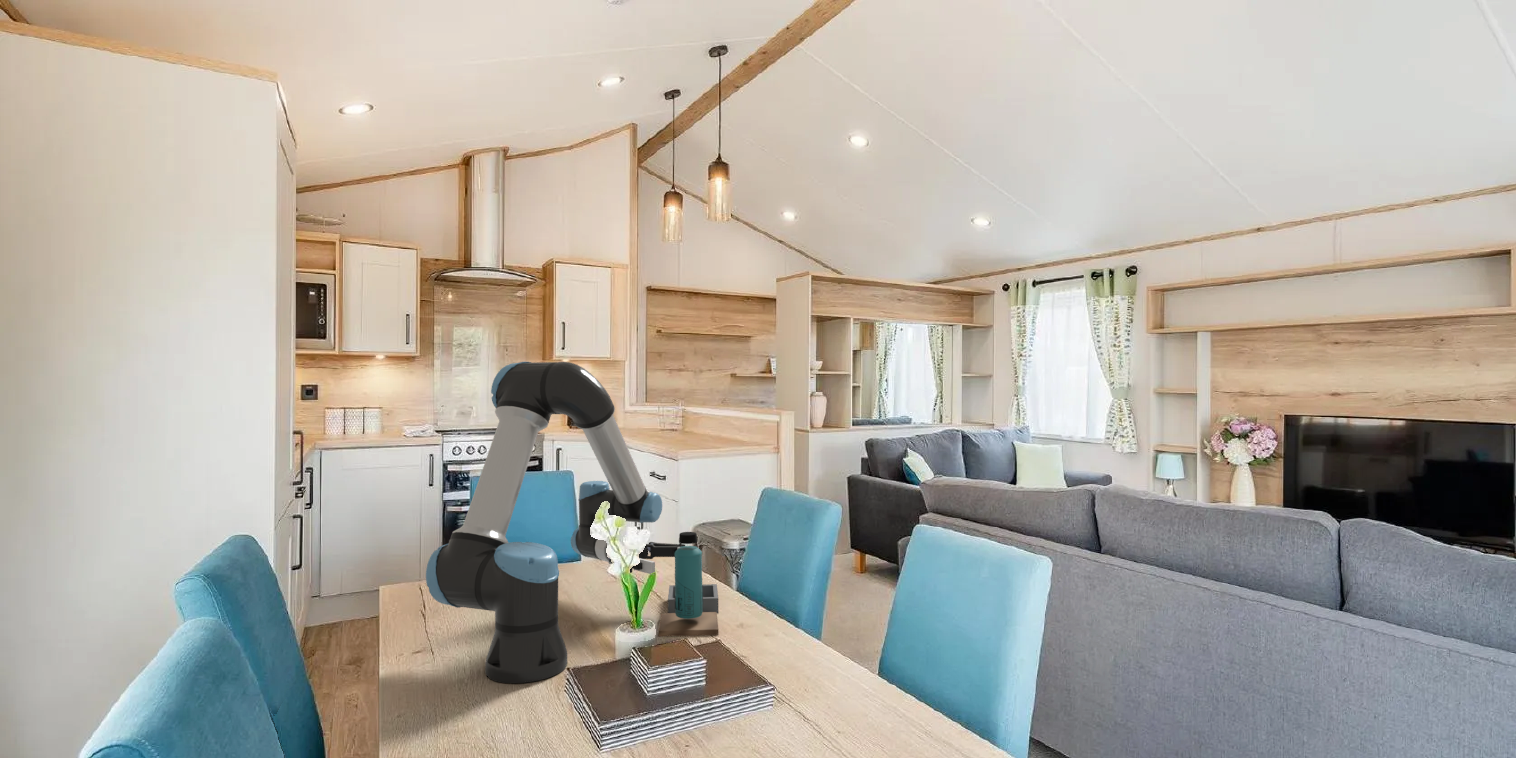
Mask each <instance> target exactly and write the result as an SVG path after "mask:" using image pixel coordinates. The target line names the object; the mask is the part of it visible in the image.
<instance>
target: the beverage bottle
mask: <svg viewBox="0 0 1516 758" xmlns="http://www.w3.org/2000/svg"><path fill="white" fill-rule="evenodd" d="M678 537H679V538H678V544H679V543H682V544H685V546H682V547H680V548H678V549H677V550H676V551H675V553H674V555H675V557H674V574H673V575H674V585H675V586H674V587H675V591H674V592H675V594H674V595H675V596H674V598H675V603H674V606H675V614H676V616H677V617H679V618H684V619H691V618H697V617H700V616H701V615H702V612H703V593H702V588H703V587H702V586H703V584H704V583H703V559H702V558H703V551H702V550H701V549H700V548H699V547H697V546H695V545H691V544H696V543H698V537H697V532H694V531H683V532H680V533H679V535H678Z"/></svg>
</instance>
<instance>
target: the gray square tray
mask: <svg viewBox="0 0 1516 758" xmlns="http://www.w3.org/2000/svg"><path fill="white" fill-rule="evenodd" d="M702 584H703V586H702V587H703V588H702V593H703V612H717V614H719V592H718V584H717V583H712V584H711V583H709V584H706V583H705V584H704V583H702ZM674 586H675V584H672V585H671V584H670V585H669V588H668V594H667V595H668V596H667V613H675V606H674V603H675V598H674V596H675V595H674V594H675V592H674V591H675V587H674Z"/></svg>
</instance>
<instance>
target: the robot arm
mask: <svg viewBox="0 0 1516 758" xmlns="http://www.w3.org/2000/svg"><path fill="white" fill-rule="evenodd" d="M490 389H491V390H490V393H491V395H492V396H491V401H492V404H493V406H494V407H495V411H494V414H495V415H496V417H497V419H498V423H497V427H496V430H495V433H494V435H493V438H492V442H491V444H490V447H489V450H488V452H487V455H486V458H485V461H484V465H483V467H482V470H481V473H480V476H479V479H478V482H477V484H476V487H475V490H474V493H473V496H472V499H471V502H470V504H469V507H468V511H467V514H466V516H465V519H464V521H463V524H462V526H461V527H459V528H457V529H455V530H453V531H452V533H451V536H450V539H449V540H448V543H446V544H443V545H441V546H439V547H437V549H436V550H434V551H433V552H432V554H431V555H430V557H429V558H428V562H427V563H426V564H427V565H426V569H425V582H426V587H428V592H429V594H430V596H431V597H432V598H433V599H434V600H435V601H437V602H438V603H440V604H442V605H446V606H451V607H455V608H456V609H457V608H459V609H460V608H467V609H475V610H481V611H482V610H483V611H488V612H489V611H491V612H494V622H495V623H494V633H493V637H492V640H491V643H490V646H489V649H488V652H487V655H486V658H485V672H484V674H485V676H486V675H487V676H488V677H489V678H488V677H487V676H486V677H487V678H488V679H489V680H492V681H495V682H498V683H505V684H525V683H533V682H537V681H542V680H545V679H549V678H551V677H553V676H556V675H558V674H560V673H561V672H563V671H565V669H566V667H567V666H568V651H567V647H566V644H565V641H564V638H563V635H562V632H561V630H560V626H559V576H560V570H559V565H558V563H559V561H558V556H557V553H556V551H555V550H554V549H552V548H551V547H550V546H548V545H545V544H542V543H537V542H532V541H531V542H530V541H525V542H522V541H513V542H512V541H511V542H509V541H508V538H507V537H506V535H507V532H508V530H509V526H510V522H511V519H512V516H513V512H514V510H515V506H516V503H517V500H518V497H519V494H520V491H521V488H522V485H523V482H524V478H525V475H526V472H527V469H528V466H529V463H530V459H531V456H532V453H533V451H534V450H533V449H534V446H535V443H536V441H537V437H538V434H539V432H540V431H543V430H545V429H546V428H548V426H549V423H550V420H551V417H552V416H553V415H565V416H567V417H569V418H570V419H572V422H573V423H574V426H575V427H577V428H578V429H580V430H582V432H583V433H584V435H585V438H586V440H587V441H588V443H589V445H590V447H591V449H592V451H593V454H594V455H595V457H596V460H597V462H598V463H599V465H600V468H601V470H602V472H603V474H604V476H605V478H606V480H607V481H603V480H589V481H588V480H587V481H584V482H582V483H581V484H580V485H579V490H578V491H579V493H578V494H579V495H578V515H579V516H578V527H577V528H576V529H575V530H573V532H572V535H571V538H570V546H571V548H572V551H574V553H576V554H578V555H581V556H583V557H585V558H586V557H587V558H590V559H595V560H599V561H603V562H607V563H608V564H609V565H612V564H613V563H612V562H611V559H610V558H608V557H607V553H606V548H607V543H606V541H604V540H598V539H595V538H593V537H591V535H590V527H591V525H592V523H593V521H594V519H595V514H596V512H597V510H598V509H599V507H600V505H601V503H602V502H604V501H608V502H609V503H610V508H609V509H608V513H609V515H616V516H620V517H622V518H625V519H626V521H625V522H629V523H630V522H631V523H639V524H643V523H655V522H657V521H658V520H659V518H660V517H661V514H662V512H663V500H662V497H661V495H660V494H658V493H657V492H653V491H649V492H648V489H647V488H646V486H645V484H644V482H643V479H642V477H641V474H640V472H639V470H638V467H637V466H636V463H635V461H634V458H633V457H632V455H631V452H630V450H629V448H628V445H627V443H626V441H625V439H624V436H623V434H622V431H621V430H620V427H619V425H618V423H617V420H616V418H615V417H614V416H615V415H614V414H615V412H616V407H615V405H614V403H613V400H612V399H611V396H610V395H609V393H608V391H607V390H606V388H605V387H604V386H603V385H602V384H601V382H600V380H598V379H597V378H596V377H595V376H594V375H593V374H592V373H590V371H588V370H587V369H586V368H584V367H582V366H580V365H578V364H576V363H573V362H569V361H552V362H551V361H549V362H543V361H542V362H536V361H535V362H532V361H520V362H513V363H509V364H507V365H505V366H503V367H502V368H501V369H499V371H498V372H497V374H495V377H494V378H493V380H492V385H491V388H490ZM610 488H611V489H610ZM645 544H646V546H645V548H644V550H643V552H641V553H640V554H639V559H640V563H639V564H638V565H636V566H633V567H632V568H631V569H630V573H629V574H631V573H633V571H637V572H642V573H646V574H648V575H652V574H651V573H653V572H655V573H656V562H655V561H653V559H654V558H675V555H674V553H675V551H676V550H677V549H678V548H680V547H682V546H686V544H682V543H679V542H678V543H666V542H665V543H664V542H655V541H654V542H653V541H650V542H648V543H645ZM649 554H650V555H649Z"/></svg>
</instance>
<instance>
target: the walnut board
mask: <svg viewBox="0 0 1516 758" xmlns="http://www.w3.org/2000/svg"><path fill="white" fill-rule="evenodd" d="M659 617H660V618H659V623H658V624H659V625H658V634H657V635H658V637H660V638H661V637H664V638H665V637H687V636H688V637H690V636H693V637H694V636H718V635H719V622H718V621H719V620H718V613H717V612H702V615H701V616H700V617H697V618H691V619H684V618H679V617H677V616H676V614H675V613H668V612H666V613H665V612H664V613H663V612H662V613H660V616H659Z"/></svg>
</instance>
